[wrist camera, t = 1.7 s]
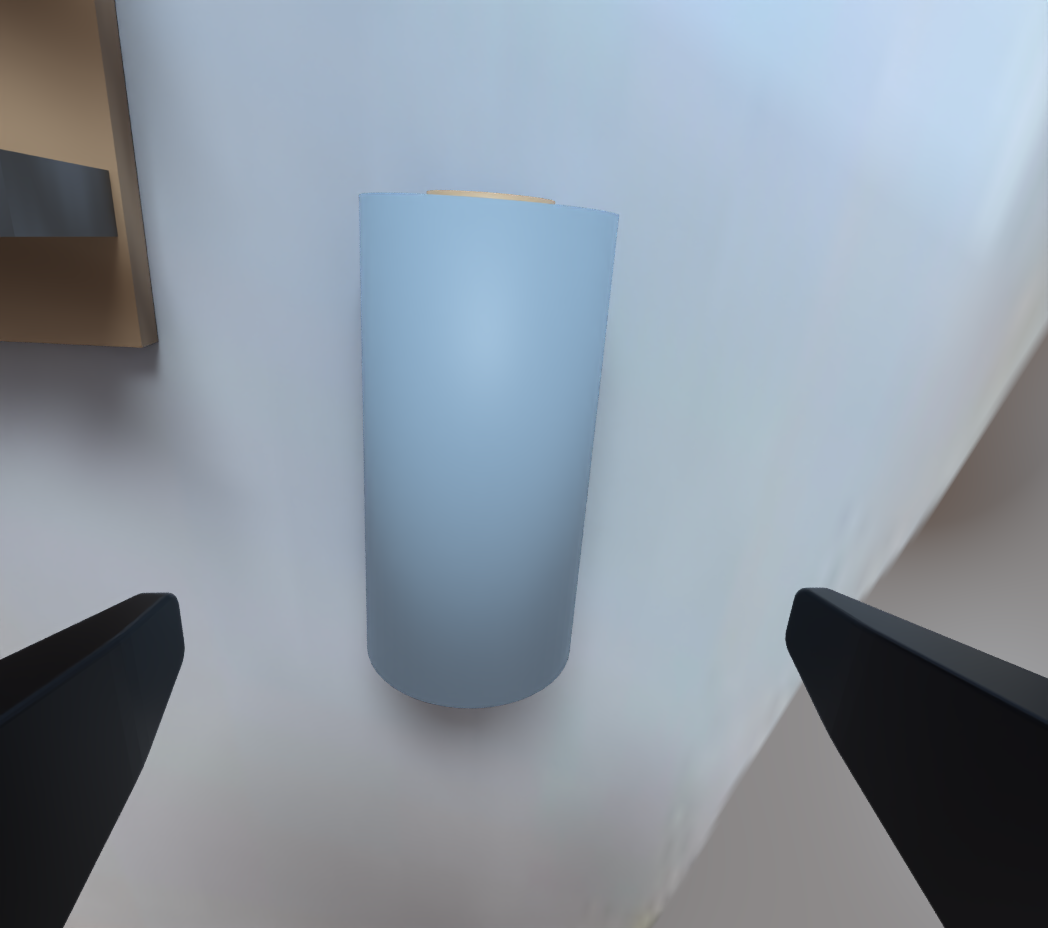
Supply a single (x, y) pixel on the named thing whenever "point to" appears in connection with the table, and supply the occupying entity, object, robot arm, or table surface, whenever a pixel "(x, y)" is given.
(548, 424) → the roll
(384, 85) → the table surface
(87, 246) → the holder
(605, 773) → the table surface
